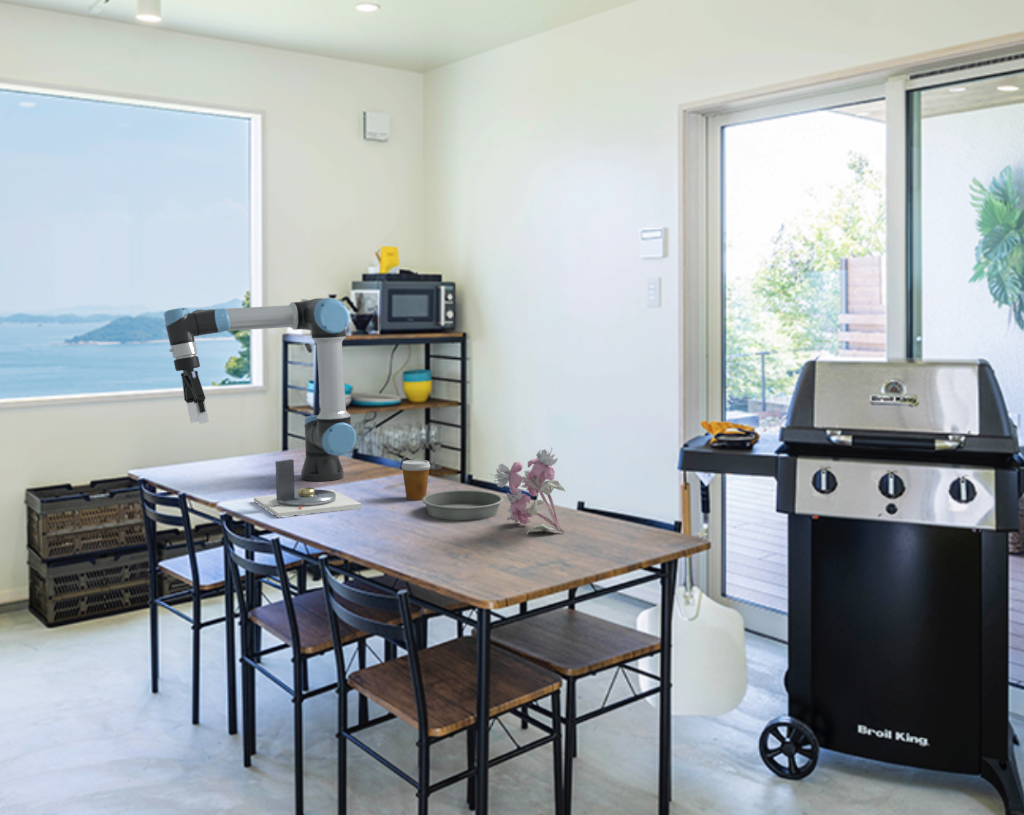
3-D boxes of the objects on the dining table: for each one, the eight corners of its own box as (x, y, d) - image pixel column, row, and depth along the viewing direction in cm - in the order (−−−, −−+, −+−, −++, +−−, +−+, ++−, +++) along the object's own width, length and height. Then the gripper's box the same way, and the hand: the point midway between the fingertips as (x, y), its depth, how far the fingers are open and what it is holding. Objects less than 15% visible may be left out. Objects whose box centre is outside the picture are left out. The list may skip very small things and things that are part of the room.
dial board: (331, 493, 313) (331, 488, 312) (361, 508, 290) (361, 502, 290) (253, 502, 299) (253, 496, 299) (278, 518, 277) (278, 512, 277)
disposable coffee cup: (433, 495, 310) (432, 459, 308) (427, 501, 300) (427, 464, 299) (404, 495, 310) (404, 459, 309) (398, 501, 301) (398, 464, 300)
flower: (581, 514, 275) (544, 438, 275) (590, 524, 253) (550, 441, 252) (520, 544, 275) (482, 468, 274) (523, 557, 252) (482, 474, 252)
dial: (312, 491, 307) (311, 451, 306) (347, 499, 295) (346, 457, 294) (261, 500, 293) (260, 458, 291) (295, 509, 281) (294, 465, 279)
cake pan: (430, 524, 271) (430, 509, 270) (416, 506, 295) (416, 492, 294) (512, 519, 278) (512, 504, 277) (492, 502, 301) (492, 488, 301)
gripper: (166, 360, 307) (180, 424, 310) (181, 357, 286) (195, 425, 288) (189, 356, 311) (203, 419, 313) (205, 353, 289) (220, 420, 292)
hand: (199, 422), depth 301 cm, fingers open, 13 cm apart
